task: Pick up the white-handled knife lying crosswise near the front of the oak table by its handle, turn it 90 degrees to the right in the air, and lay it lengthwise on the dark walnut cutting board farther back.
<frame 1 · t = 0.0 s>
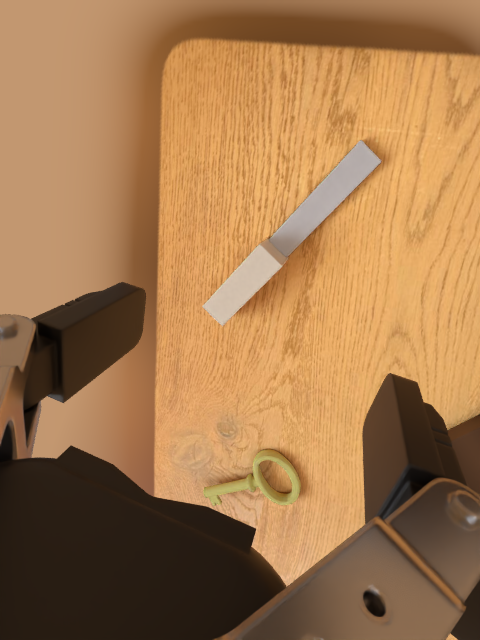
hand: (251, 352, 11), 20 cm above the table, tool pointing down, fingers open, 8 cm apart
key: (254, 475, 42), on the table
knife: (286, 239, 29), on the table
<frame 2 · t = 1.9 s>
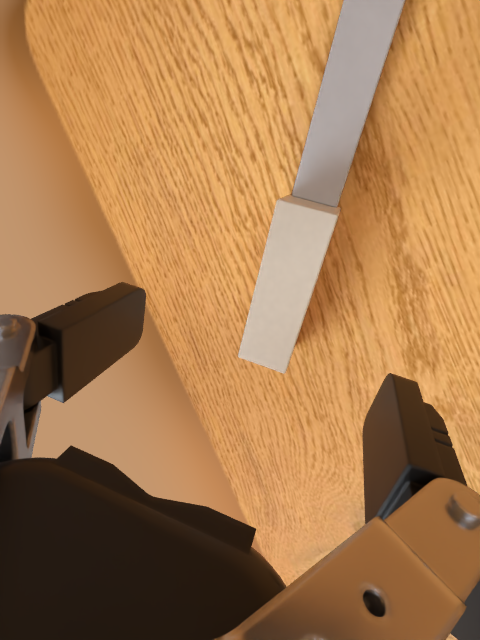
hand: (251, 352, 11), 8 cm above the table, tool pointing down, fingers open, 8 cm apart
knife: (321, 179, 16), on the table
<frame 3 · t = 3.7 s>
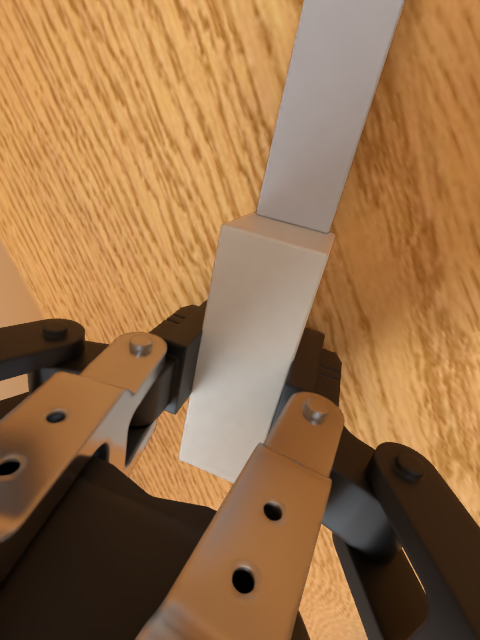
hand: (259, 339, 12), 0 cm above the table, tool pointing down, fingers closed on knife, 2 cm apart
knife: (303, 187, 10), on the table, touching gripper
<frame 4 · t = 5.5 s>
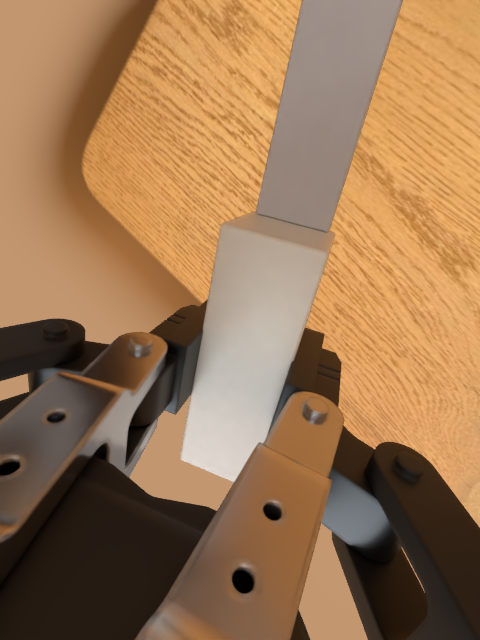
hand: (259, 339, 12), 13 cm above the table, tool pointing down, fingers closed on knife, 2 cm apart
knife: (303, 186, 10), point 13 cm above the table, touching gripper
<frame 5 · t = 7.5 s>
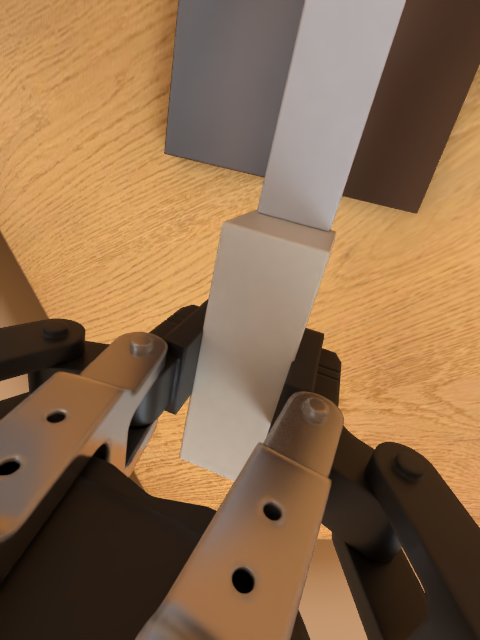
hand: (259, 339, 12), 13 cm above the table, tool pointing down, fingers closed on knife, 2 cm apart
knife: (304, 185, 10), point 13 cm above the table, touching gripper
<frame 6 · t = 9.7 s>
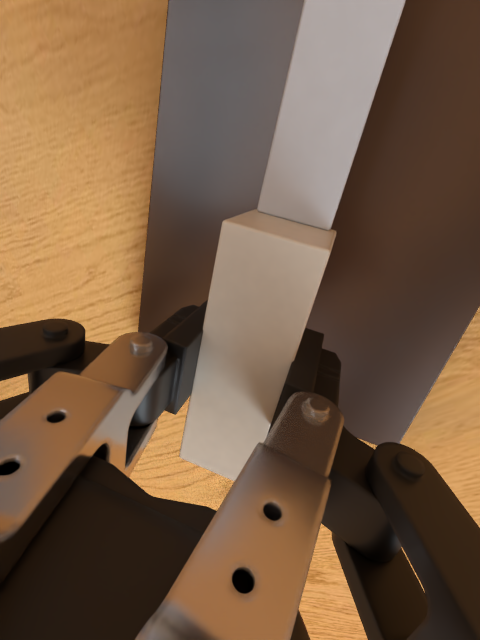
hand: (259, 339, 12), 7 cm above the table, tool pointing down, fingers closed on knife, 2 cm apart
cutting board: (323, 183, 16), on the table
knife: (304, 184, 10), point 7 cm above the table, touching gripper
when the fingers open (2 cm above the table, at t = 11.2 s): knife stays where it is, resting on cutting board.
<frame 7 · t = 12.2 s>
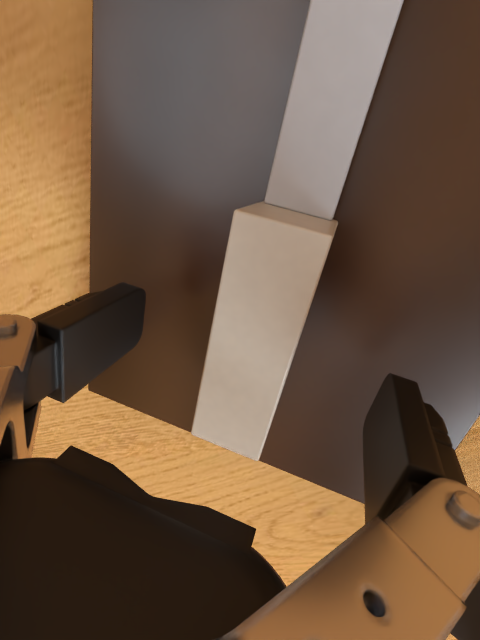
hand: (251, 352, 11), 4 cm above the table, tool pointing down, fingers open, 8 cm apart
cutting board: (313, 181, 12), on the table
knife: (308, 177, 11), point 1 cm above the table, touching cutting board
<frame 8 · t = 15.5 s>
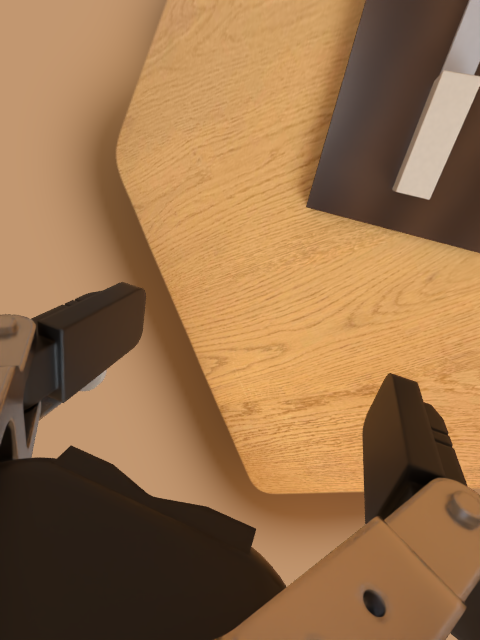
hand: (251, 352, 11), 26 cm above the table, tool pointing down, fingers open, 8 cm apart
cutting board: (453, 74, 27), on the table
knife: (458, 67, 25), point 1 cm above the table, touching cutting board
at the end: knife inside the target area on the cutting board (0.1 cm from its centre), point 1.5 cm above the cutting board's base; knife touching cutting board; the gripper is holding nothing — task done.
